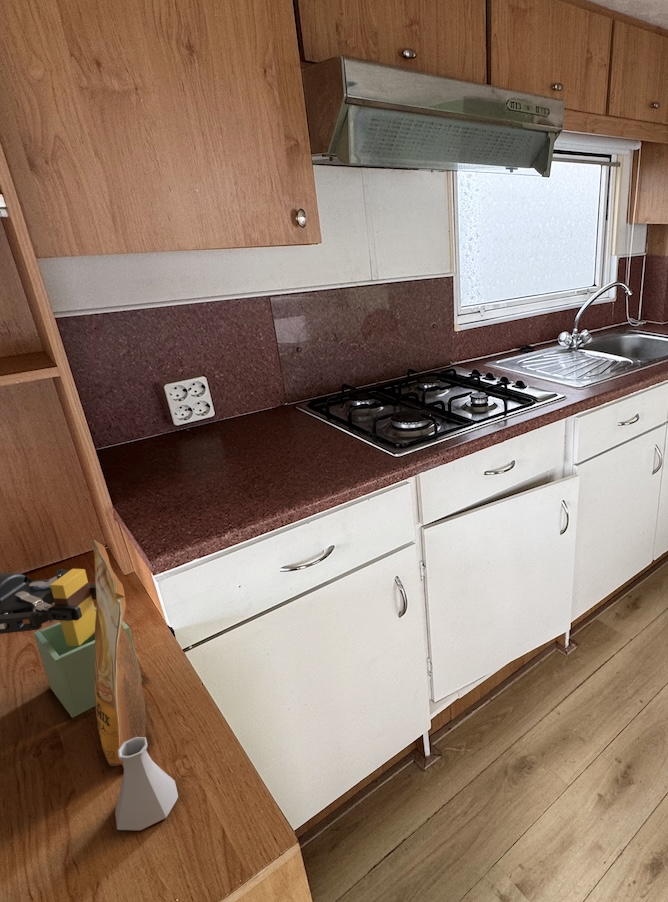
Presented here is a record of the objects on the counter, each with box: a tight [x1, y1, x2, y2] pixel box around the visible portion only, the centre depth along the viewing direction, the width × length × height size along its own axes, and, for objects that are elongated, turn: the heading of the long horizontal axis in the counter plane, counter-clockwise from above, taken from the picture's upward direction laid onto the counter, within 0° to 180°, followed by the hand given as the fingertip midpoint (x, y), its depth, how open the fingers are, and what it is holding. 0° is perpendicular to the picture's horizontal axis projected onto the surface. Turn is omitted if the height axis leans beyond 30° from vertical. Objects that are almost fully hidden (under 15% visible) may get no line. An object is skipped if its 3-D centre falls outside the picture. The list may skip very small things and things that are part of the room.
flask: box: [114, 736, 179, 831], centre depth 73 cm, size 7×7×10 cm
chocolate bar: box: [50, 568, 96, 646], centre depth 89 cm, size 2×5×11 cm, turn 177°
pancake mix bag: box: [89, 539, 147, 769], centre depth 82 cm, size 7×19×28 cm, turn 34°
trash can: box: [33, 606, 143, 719], centre depth 93 cm, size 10×10×11 cm
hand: (91, 602), depth 89 cm, fingers closed on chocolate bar, 4 cm apart
